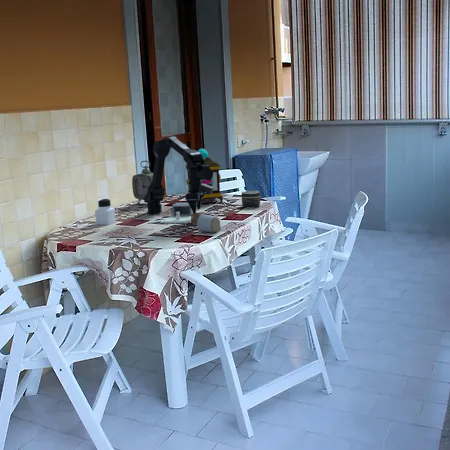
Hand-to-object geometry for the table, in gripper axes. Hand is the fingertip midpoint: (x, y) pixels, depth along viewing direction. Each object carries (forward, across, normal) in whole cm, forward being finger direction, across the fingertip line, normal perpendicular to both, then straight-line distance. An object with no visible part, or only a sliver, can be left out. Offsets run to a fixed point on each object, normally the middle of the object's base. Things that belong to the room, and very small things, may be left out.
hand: (196, 211), depth 289 cm
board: (+5, +8, +10) cm, 14 cm away
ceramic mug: (+6, -20, -10) cm, 23 cm away
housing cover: (+4, +14, +10) cm, 18 cm away
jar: (+6, +38, -21) cm, 44 cm away
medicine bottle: (+6, -1, +46) cm, 46 cm away
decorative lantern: (+6, +55, +8) cm, 56 cm away
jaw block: (+5, 0, 0) cm, 5 cm away
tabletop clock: (+6, +48, +39) cm, 62 cm away
